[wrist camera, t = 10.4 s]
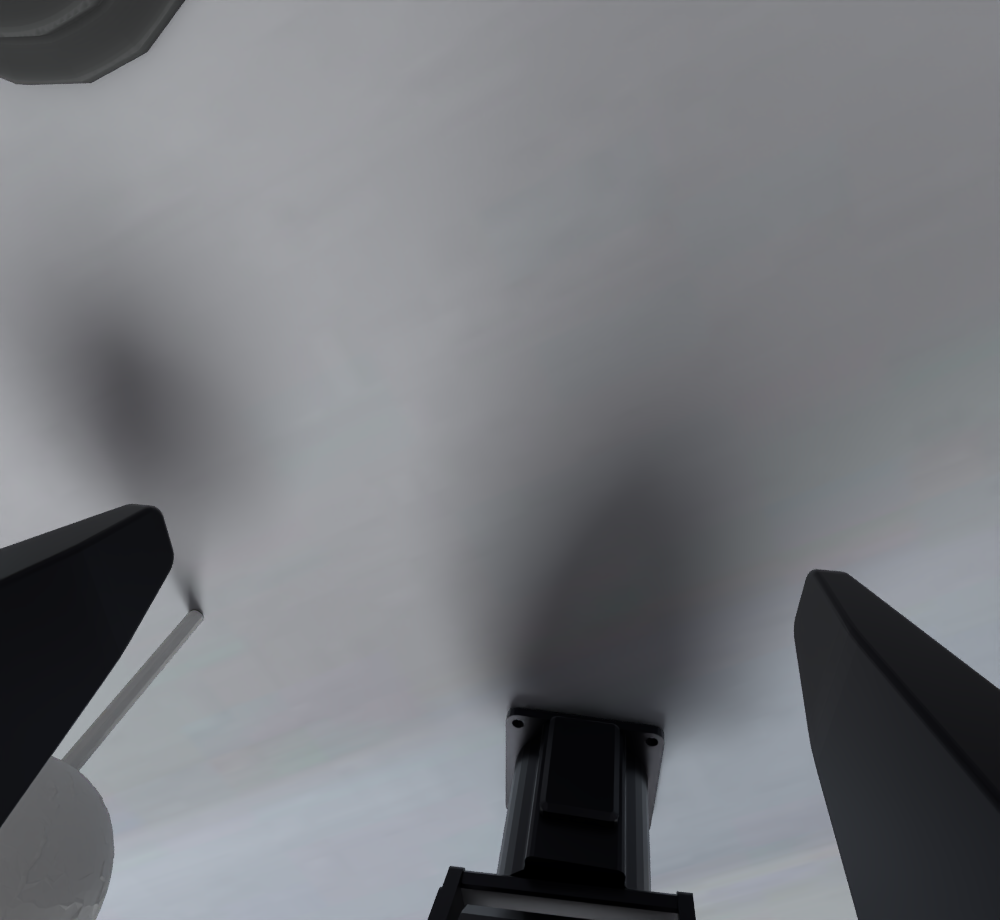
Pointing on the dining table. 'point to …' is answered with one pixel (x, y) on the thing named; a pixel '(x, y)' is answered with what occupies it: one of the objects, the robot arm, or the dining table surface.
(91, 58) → the figurine
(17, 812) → the lollipop
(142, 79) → the dining table surface
